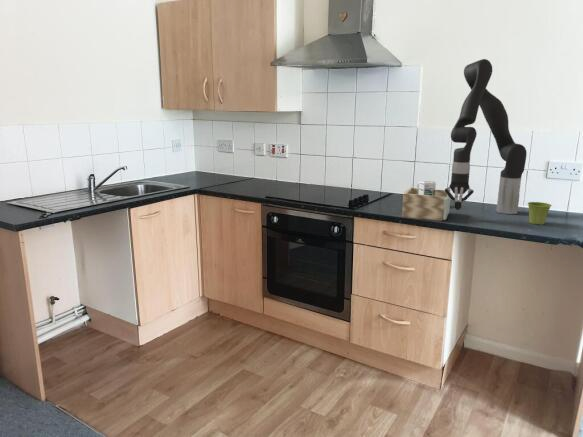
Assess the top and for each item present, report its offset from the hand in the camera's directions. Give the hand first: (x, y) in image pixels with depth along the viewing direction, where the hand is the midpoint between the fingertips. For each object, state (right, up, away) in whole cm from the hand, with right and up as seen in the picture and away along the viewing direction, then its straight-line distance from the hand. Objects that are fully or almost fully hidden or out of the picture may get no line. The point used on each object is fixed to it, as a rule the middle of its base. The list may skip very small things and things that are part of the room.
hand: (457, 209), depth 218 cm
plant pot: (+33, -6, -7) cm, 34 cm away
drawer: (-12, -2, +6) cm, 14 cm away
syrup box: (-13, -1, +6) cm, 15 cm away
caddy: (-13, -2, +7) cm, 15 cm away
